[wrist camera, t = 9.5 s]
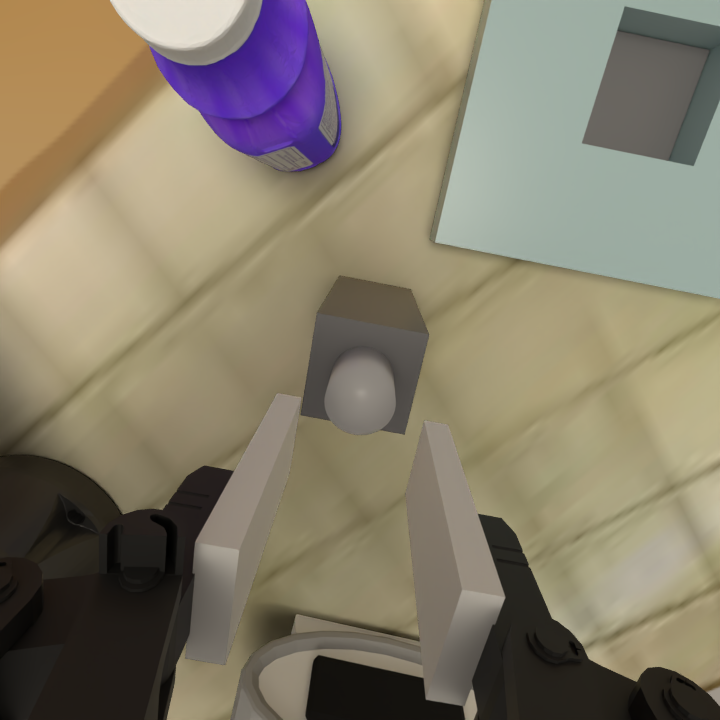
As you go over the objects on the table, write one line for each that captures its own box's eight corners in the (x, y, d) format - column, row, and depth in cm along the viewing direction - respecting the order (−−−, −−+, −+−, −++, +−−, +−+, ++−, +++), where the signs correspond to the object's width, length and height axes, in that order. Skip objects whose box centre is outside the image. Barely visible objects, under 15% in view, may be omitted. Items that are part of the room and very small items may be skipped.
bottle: (231, 58, 27) (2, -182, 11) (321, 28, 26) (227, -277, 10) (269, 183, 29) (128, 147, 13) (353, 158, 29) (319, 86, 12)
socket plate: (429, 239, 30) (434, 242, 27) (518, -147, 24) (537, -196, 21) (718, 296, 30) (753, 305, 27) (882, -68, 24) (949, -105, 21)
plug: (327, 343, 32) (288, 446, 18) (339, 275, 31) (306, 330, 17) (395, 356, 33) (408, 469, 18) (410, 289, 31) (437, 355, 17)
